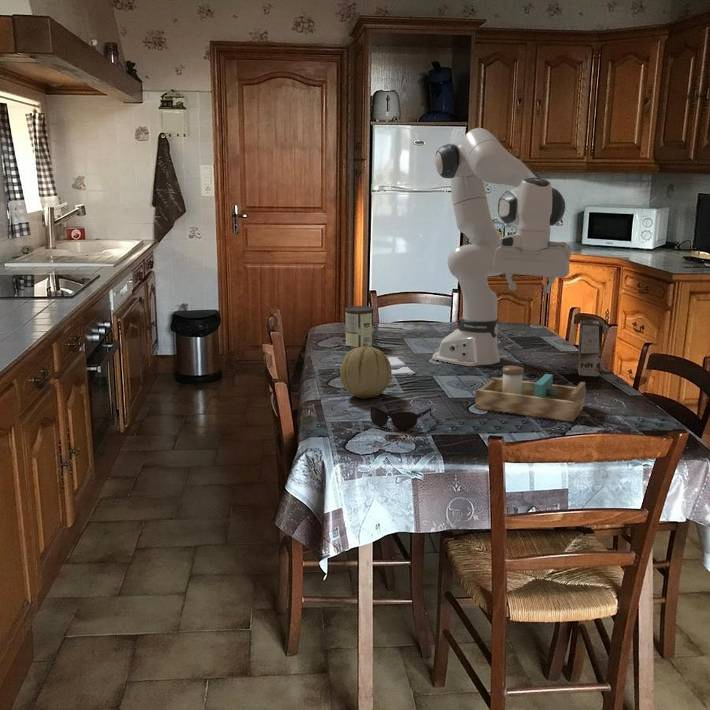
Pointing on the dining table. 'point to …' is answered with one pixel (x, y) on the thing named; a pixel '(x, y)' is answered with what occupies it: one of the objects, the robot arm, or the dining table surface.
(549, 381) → the block
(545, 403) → the wooden tray
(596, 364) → the coffee box
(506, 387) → the jar
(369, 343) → the coffee can
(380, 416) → the sunglasses
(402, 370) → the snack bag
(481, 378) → the dining table surface
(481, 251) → the robot arm
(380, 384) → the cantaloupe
